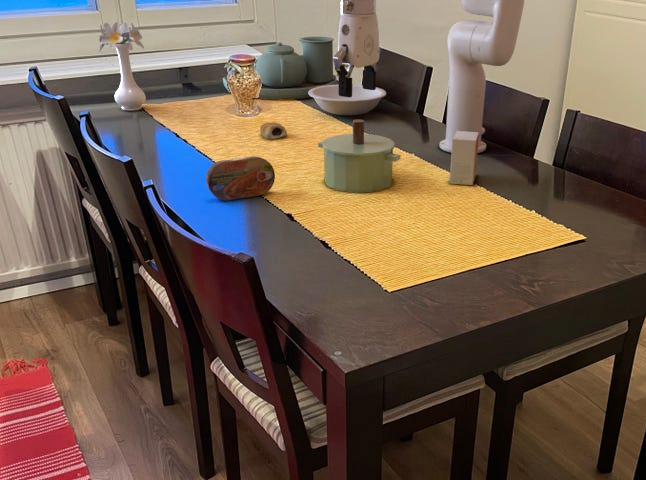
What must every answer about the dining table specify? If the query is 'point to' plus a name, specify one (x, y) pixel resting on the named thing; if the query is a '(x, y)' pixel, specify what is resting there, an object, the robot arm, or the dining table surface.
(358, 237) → the dining table surface
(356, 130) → the pot lid
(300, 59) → the tea set
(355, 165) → the casserole
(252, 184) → the tin
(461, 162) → the small box
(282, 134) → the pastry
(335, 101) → the soup bowl
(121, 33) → the flower vase
